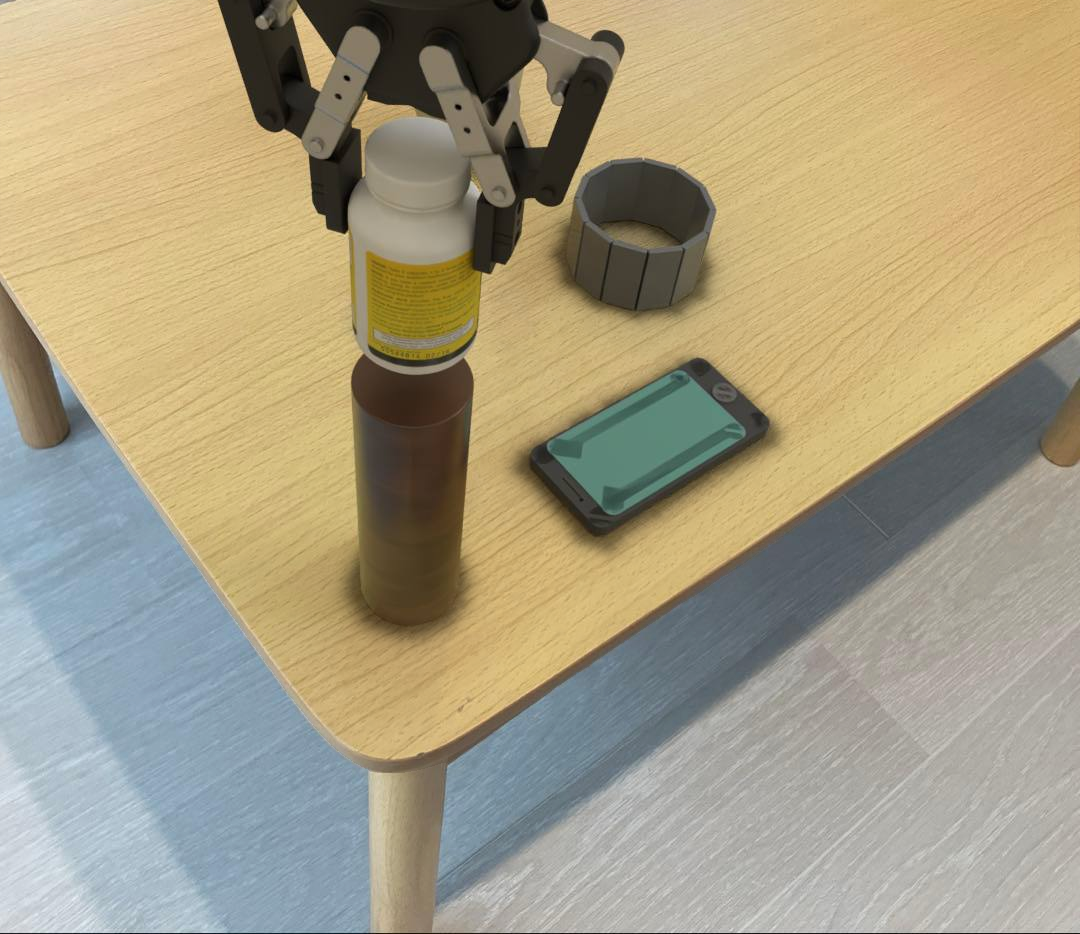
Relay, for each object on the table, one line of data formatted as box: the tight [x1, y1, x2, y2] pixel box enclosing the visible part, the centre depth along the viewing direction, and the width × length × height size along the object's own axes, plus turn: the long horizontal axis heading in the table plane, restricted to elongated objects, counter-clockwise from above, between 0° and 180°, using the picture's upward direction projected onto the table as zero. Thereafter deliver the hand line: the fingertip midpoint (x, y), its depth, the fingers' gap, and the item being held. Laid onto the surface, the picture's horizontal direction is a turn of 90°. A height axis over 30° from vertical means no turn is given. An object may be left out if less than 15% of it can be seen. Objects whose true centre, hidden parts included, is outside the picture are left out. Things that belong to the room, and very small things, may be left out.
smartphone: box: [528, 357, 771, 537], centre depth 75 cm, size 7×1×15 cm
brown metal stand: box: [350, 352, 475, 626], centre depth 61 cm, size 6×6×18 cm
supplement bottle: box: [347, 116, 483, 375], centre depth 47 cm, size 5×5×10 cm
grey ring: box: [565, 156, 717, 312], centre depth 84 cm, size 10×10×6 cm
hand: (417, 237), depth 47 cm, fingers closed on supplement bottle, 5 cm apart
